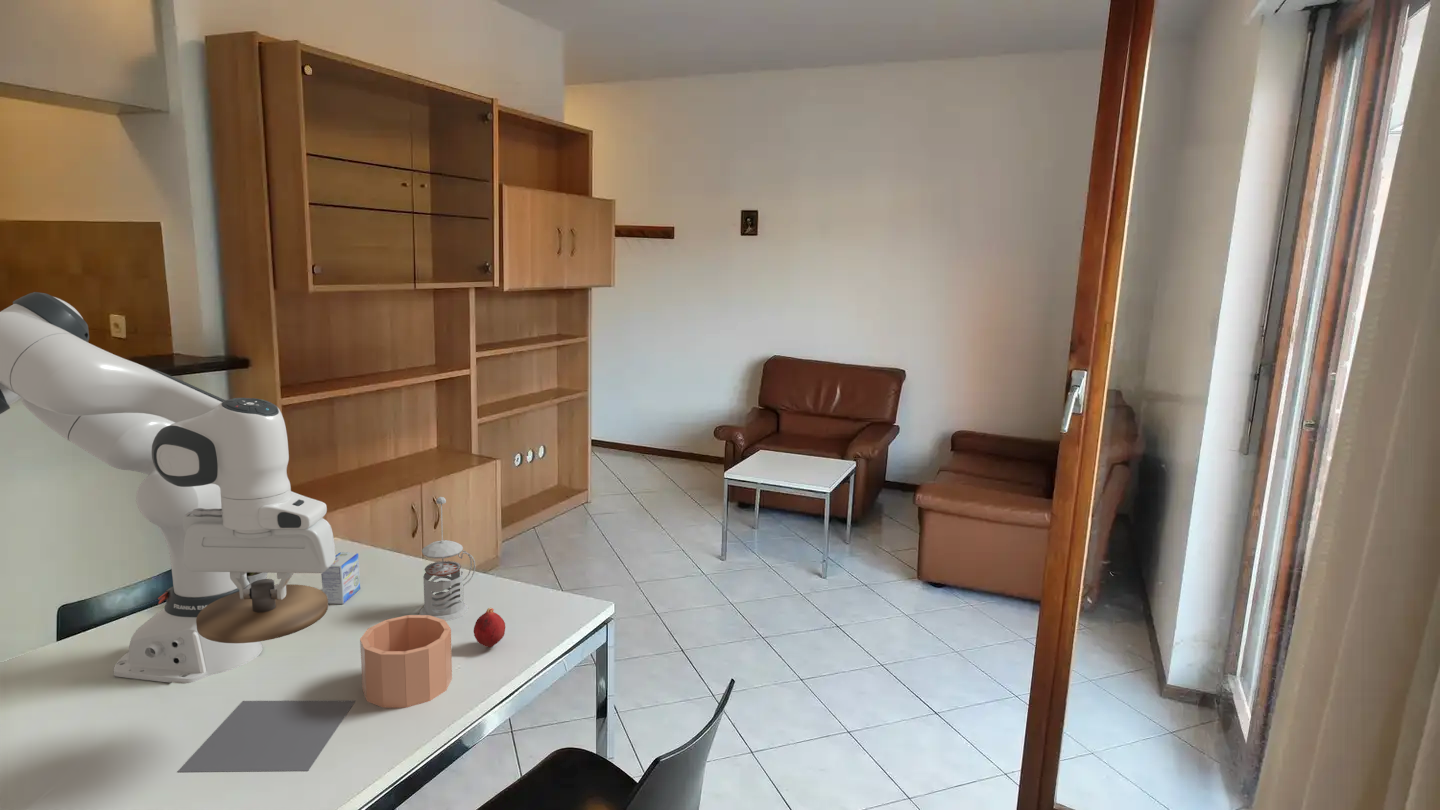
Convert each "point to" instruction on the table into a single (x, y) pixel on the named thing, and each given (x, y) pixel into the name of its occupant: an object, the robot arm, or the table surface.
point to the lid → (261, 614)
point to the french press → (444, 602)
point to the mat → (269, 737)
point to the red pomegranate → (489, 628)
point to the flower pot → (406, 661)
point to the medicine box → (341, 578)
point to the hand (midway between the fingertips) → (263, 597)
